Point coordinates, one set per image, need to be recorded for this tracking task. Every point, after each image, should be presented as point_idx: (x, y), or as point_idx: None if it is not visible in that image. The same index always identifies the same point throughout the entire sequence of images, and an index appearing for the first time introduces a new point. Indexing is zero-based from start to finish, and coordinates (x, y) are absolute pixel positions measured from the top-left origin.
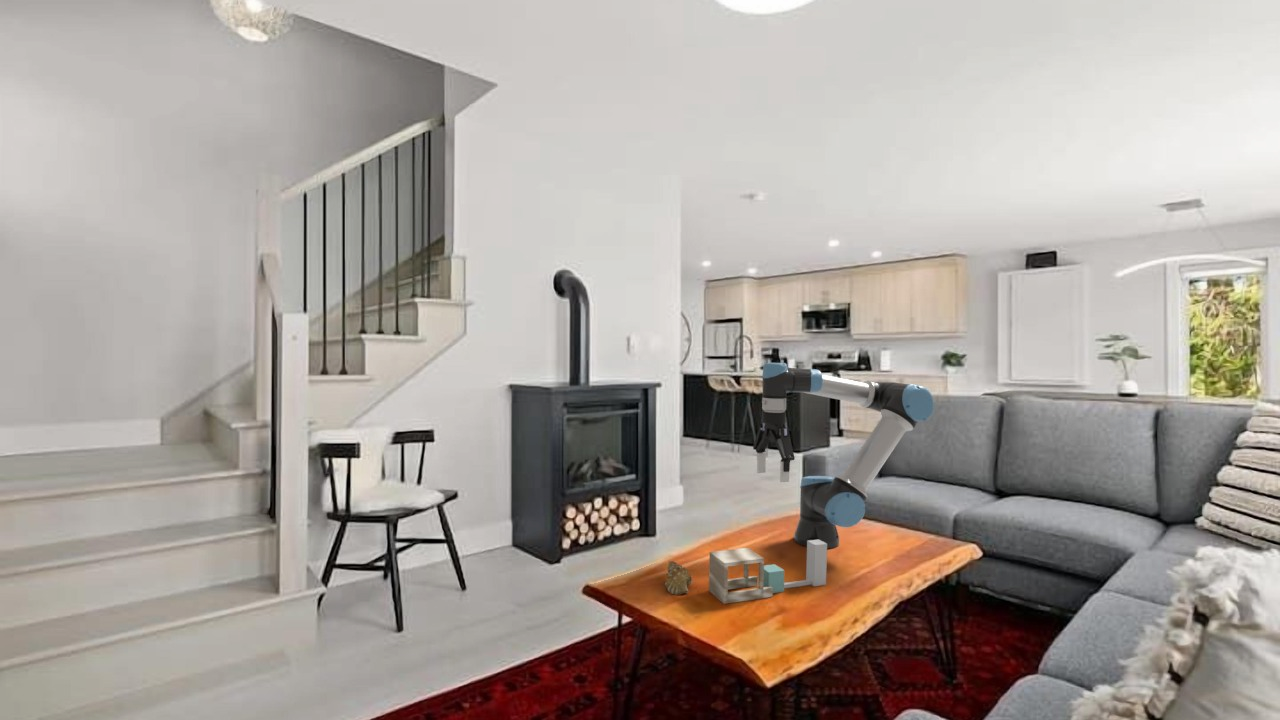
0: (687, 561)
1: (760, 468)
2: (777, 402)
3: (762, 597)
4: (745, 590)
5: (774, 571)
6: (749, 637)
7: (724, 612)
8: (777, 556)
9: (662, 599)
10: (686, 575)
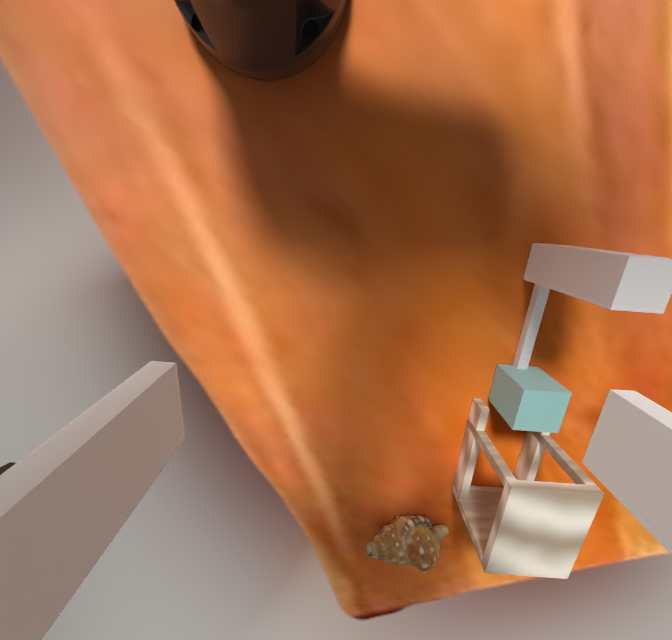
0: (293, 457)
1: (157, 450)
2: None
3: None
4: (533, 468)
5: (561, 418)
6: None
7: None
8: (342, 236)
9: (443, 561)
10: (436, 547)
